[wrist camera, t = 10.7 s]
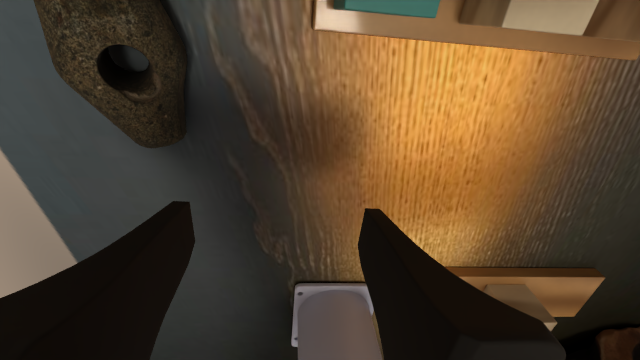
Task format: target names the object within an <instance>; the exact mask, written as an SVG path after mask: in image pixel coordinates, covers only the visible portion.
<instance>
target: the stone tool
mask: <svg viewBox="0 0 640 360" xmlns="http://www.w3.org/2000/svg"><path fill="white" fill-rule="evenodd" d="M34 3H35V6H36V9H37V12H38V15H39V18H40V22H41V25H42V29H43V32H44V35H45V39H46V42H47V46H48V49H49V52H50V55H51V58H52V62H53V65H54V67H55V69H56V71H57V72H58V74H59V75H60V77H61V78H62V79H63V80H64V81H65V82H66V83H67V84H68V85H69V86H70V87H71V88H73V89H74V90H75V91H76V92H77V93H78V94H79V95H81V96H82V97H83V98H84V99H85V100H87V101H88V102H89V103H90V104H91V105H92V106H94V107H95V108H96V109H97V110H98V111H99V112H101V113H102V114H103V115H104V116H105V117H107V118H108V119H109V120H110V121H111V122H112V123H114V124H115V125H116V126H117V127H118V128H119V129H121V130H122V131H123V132H124V133H125V134H126V135H128V136H129V137H130V138H131V139H132V140H133V141H134V142H136V143H137V144H139V145H141V146H144V147H147V148H158V147H163V146H168V145H171V144H174V143H176V142H178V141H180V140H182V139H183V138H184V136H185V135H186V133H187V129H186V120H185V110H184V81H185V74H186V68H187V54H186V50H185V47H184V45H183V43H182V41H181V39H180V37H179V35H178V33H177V31H176V30H175V28H174V26H173V24H172V22H171V20H170V19H169V17H168V15H167V13H166V11H165V10H164V8H163V6H162V4H161V2H160V0H34ZM118 44H121V45H127V46H130V47H133V48H135V49H137V50H139V51H140V52H142V53H143V54H144V55H145V56H146V57H147V59H148V60H149V66H148V68H147V69H146V70H145V71H143V72H132V71H128V70H126V69H124V68H122V67H120V66H118V65H117V64H116V63H115V62H114V61H113V59H112V58H111V56H110V54H109V51H108V47H109V46H112V45H118Z"/></svg>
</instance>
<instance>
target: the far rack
mask: <svg viewBox="0 0 640 360" xmlns="http://www.w3.org/2000/svg"><path fill="white" fill-rule="evenodd" d="M445 268H446V269H448V270H449V271H451V272H452V273H453V274H455V275H456V276H458V277H459V278H461V279H463V280H464V281H466V282H467V283H469V284H471V285H472V286H474V287H476V288H477V289H479V290H481V291H483V292H484V293H486V294H488V295H490V296H492V297H493V298H495V299H497V300H499V301H501V302H503V303H505V304H507V305H509V306H511V307H513V308H515V309H517V310H519V311H522V312H524V313H526V314H528V315H530V316H532V317H535V318H537V319H539V320H541V321H542V322H543V323H544V324H545V325H546V326H547V328H548V329H549V330H550V331H551V330H552V329H553V328H554V326H555V325H556V324H557V322H556V320H555V319H554V318H553V317H574V316H575V315H576V313H577V312H578V311H579V310H580V308H581V307H582V306H583V305H584V304H585V302H586V301H587V300H588V299H589V297H590V296H591V295H592V294H593V292H594V291H595V290H596V289H597V287H598V286H599V285H600V284H601V282H602V281H603V280H604V279H605V277H604V276H603V275H602V274H601V273H600V272H599V271H597V270H596V269H595V268H487V267H445Z"/></svg>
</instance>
